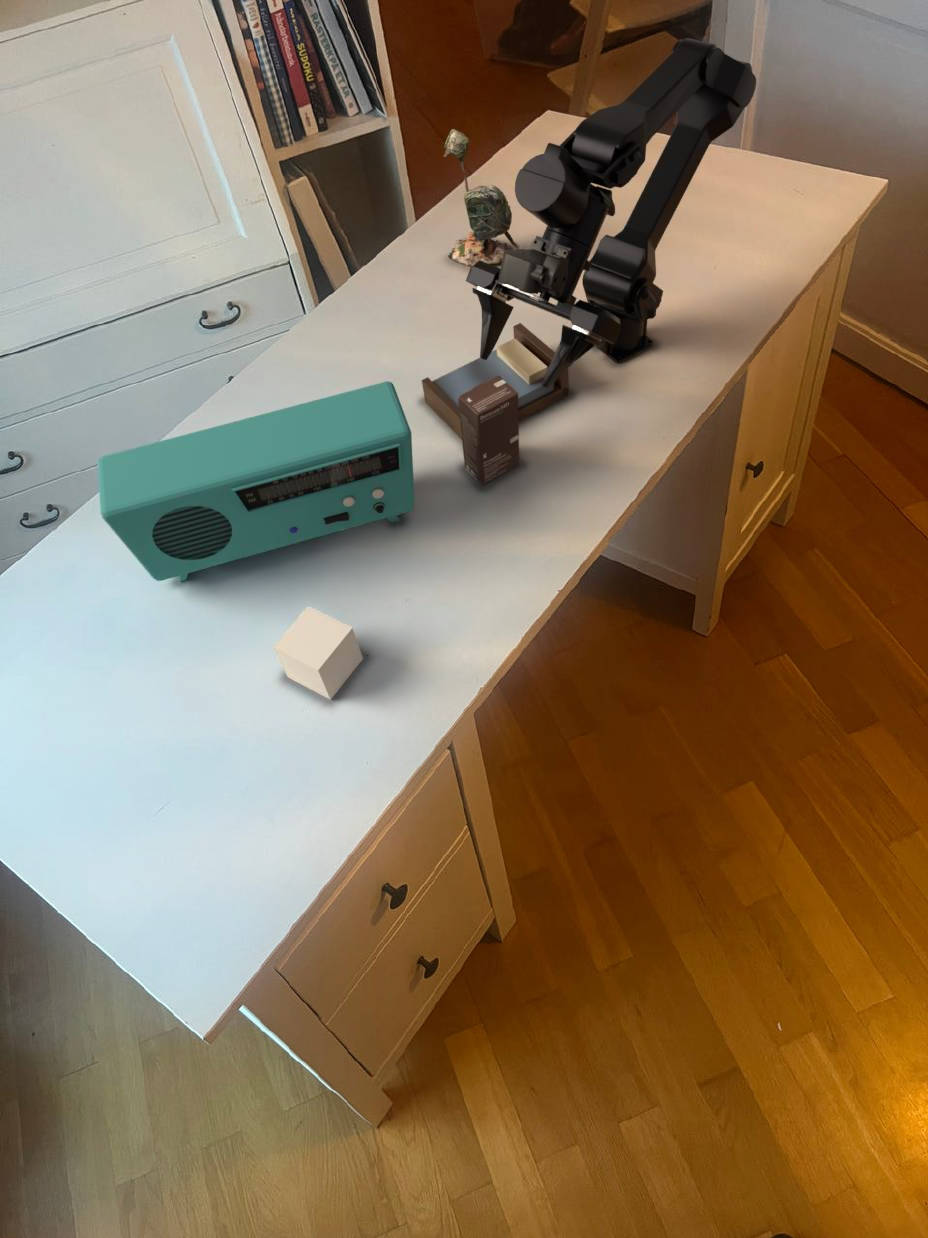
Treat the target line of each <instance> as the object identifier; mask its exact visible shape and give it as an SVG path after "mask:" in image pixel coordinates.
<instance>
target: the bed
mask: <svg viewBox="0 0 928 1238" xmlns="http://www.w3.org/2000/svg"><path fill="white" fill-rule="evenodd" d="M512 328H513V329H512V330H513V339H510V340H509V341H506V342H505V343H503V344H499V345H498V346H496V348H495V349H493V351H492V352H491V354H490V355H489V357H488V358H487V360H484V359H482V358H480V357H478V358H476V359H474V360H472V361H470V362H468V363H465V364H464V365H462V366H460V367H458V368H456V369H453V370H452V371H450V372H448V373H446V374H444V375H441V376H440V377H437V378H435V379H433V380H431V379H430V377H429V376H428V377H425V378H423V379H421V384H422V391H423V396H424V403H425V404H426V405H427V406H428V407H429V408H430V409H431V410H432V411H433V412H434V413H435V414H436V415H437V417H439V418H440V419H441V420H442V421H443V423H445V424H446V425H447V427H449V428H450V429H451V430H452V432H453V433H455V435H456V436H457V437H458V438H459V439H460V440H461V441H462V433H461V424H460V413H459V403H458V396H460V395H462V394H464V393H466V392H468V391H470V390H471V389H473V388H474V387H475V386H477V385H479V384H481V383H484V382H487V381H489V380H491V379H492V378H494V377H496V376H500V377H501V378H502V379H503V380H504V381H505V382H506V383H507V384H509V385H510V386H511V387H512V388H513V389H514V390H515V391H516V392H517V393H518V422H519V421H521V420H523V419H525V418H527V417H529V416H531V415H532V414H535V413H538V412H539V411H540V410H543V409H544V408H546V407H549V406H550V405H552V404H554V403H555V402H558V401H560V400H562V399H563V398H565V397H568V396H569V376H570V375H569V373H570V372H569V371H570V369H569V368H570V367H569V368H568V369H567V370H566V371H565V372H564V373H563V374H562V375H561V376H560V377H559V378H558V379H557V380H556V381H555V382H554V383H552V384H551V385H550V386H549V387H548V388H546V387H544V386H542V383H543V380H544V377H545V374H546V372H547V369H548V367H549V365H550V363H551V361H552V359H553V357H554V354H555V352H556V351H554V350H553V349H552V348H551V347H549V345H548V344H546V343H545V342H543V340H541V339H540V338H539V337H538V336H537V335H535V334H534V333H533V332H532V331H531V330H530V329H528V328H527V327H526V326H524V324H523V323H521V322H519V323H517V324H515V325H514V326H513V327H512Z"/></svg>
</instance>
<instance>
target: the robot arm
mask: <svg viewBox="0 0 928 1238" xmlns="http://www.w3.org/2000/svg"><path fill="white" fill-rule="evenodd" d="M756 87H757V77H756V74H754V73H753V67H752V64H751V63H749V62H747V61H742V60H737V59H735V58H733V57H732V56H730V55H728V54H726V53H725V52H724V51H723V50H722V49H721V48H720V47H718V46H717V45H716V44H715V43H710V42H707V41H702V40H698V39H693V38H689V37H685V38H684V39H679V40H677V41H676V42H675V44H674V45H673V47H672V50H671V52H670V54H669V55H668V56H667V57H666V58H665V59H664V60H663V61H662V62H661V63H660V64H659V65H658V66H657V67H656V69H654V70H653V71H652V73H650V75H648V76H647V77H646V78H645V79H644V80H643V81H642V82H641V83H640V84H639V85H638V86H637V87H636V88H635V89H634V90H633V91H632V92H631V93H630V94H629V95H628V96H627V97H626V98H625V99H624V100H623V101H621V102H620V103H619V104H616V105H612V106H608V107H604V108H600V109H598V110H596V111H594V112H593V113H592V114H591V115H589V116H588V117H586V118H584V119H583V120H582V121H581V122H580V123H578V126H577V127H576V128H575V129H574V131H572V132H571V133H570V135H568V136H567V137H566V138H565V139H564V141H563V142H561V144H555V143H552V142H549V143H547V145H546V147H545V150H544V152H543V153H541V154H537V155H535V156H533V157H532V158H530V159H529V160H528V161H526V163H525V164H524V166H522V168H520V169H519V171H518V172H517V174H516V178H515V182H514V193H515V198H516V200H517V203H518V204H519V205H520V207H522V208H523V209H524V210H525V211H527V212H529V214H531V215H533V216H534V217H535V218H536V219H538V220H539V221H540V222H542V223H543V224H544V225H546V227H545V230H544V232H543V235H542V236H539V235H536V236H535V238H534V239H532V242H531V245H530V247H529V248H528V249H526V248H525V249H524V248H520V249H517V248H516V249H508V251H504V254H503V259H502V262H501V265H500V267H498V266H495V265H494V264H491V263H489V264H488V263H485V262H483V261H480V260H479V261H478V262H477V263H476V264H474V265H473V266H472V267H470V268H469V271H468V273H467V276H466V279H465V282H466V283H469V284H470V285H472V286H474V287H472V294H474V295H475V296H477V298H478V302H479V305H480V308H481V335H480V350H479V358H482V359H484V360H487V358H488V357H489V355H490V354H491V352H492V351H494V350H495V349H494V348H495V347H496V344H497V343H498V340H499V339H500V337H501V335H502V333H503V331H504V328H505V326H506V324H507V322H508V321H509V318H510V316H511V314H512V312H513V310H514V308H515V307H514V306H513V305H511V304H509V303H507V302H509V301H512V300H514V299H515V300H518V301H521V302H524V303H526V304H527V305H531V306H532V307H536V308H538V309H540V310H543V311H545V312H548V313H550V314H552V315H555V316H557V317H560V318H562V319H565V320H568V321H569V322H571V325H572V326H571V327H570V326H567V325H565V324H562V325H561V326H562V327H561V335H560V342H559V344H558V346H557V348H556V350H555V351H554V352H555V354H554V357H553V359H552V361H551V363H550V365H549V367H548V369H547V372H546V374H545V377H544V380H543V383H542V386H544V387H546V388H548V387H549V386H550V385H551V384H552V383H554V382H555V381H556V380H557V379H558V378H559V377H560V376H561V375H562V374H563V373H564V372H565V371H566V370H567V369H568V368H570V367H571V366H572V365H573V364H575V363H576V362H577V361H578V360H580V358H582V357H583V356H585V354H586V353H588V352H589V351H590V350H592V349H593V348H597V349H598V350H599V351H601V352H602V353H603V354H604V355H606V356H607V357H608V358H609V359H611V360H612V361H613V362H614V363H615V364H620V363H622V362H624V361H626V360H628V359H630V358H631V357H633V356H635V355H638V354H639V353H641V352H643V351H645V350H647V349H649V348H651V347H652V346H653V345H654V340H653V339H652V338H651V337H649V336H648V335H647V330H648V321H649V320H653V319H654V318H656V317H657V309H659V308H660V305H661V303H662V298H663V293H664V290H663V289H662V288H661V287H659V286H658V285H656V284H655V283H654V281H655V279H656V276H657V264H656V250H657V248H658V246H659V244H660V242H661V240H662V238H663V236H664V234H665V232H666V230H667V228H668V227H669V225H670V223H671V221H672V219H673V216H674V215H675V212H676V211H677V209H678V207H679V205H680V202H681V201H682V199H683V197H684V196H685V194H686V191H687V189H688V188H689V185H690V183H691V181H692V179H693V178H694V176H695V174H696V172H697V170H698V168H699V166H700V164H701V162H702V160H703V158H704V156H705V154H706V152H707V150H708V149H709V147H710V145H711V143H712V142H713V141H714V140H716V139H717V138H719V137H720V136H722V135H723V134H725V133H726V132H727V131H730V129H732V128H733V127H734V126H735V124H736V123H737V121H738V120H739V118H740V116H741V114H742V113H743V111H744V110H745V108H747V107H748V106H749V105H750V103H751V102H752V99H753V97H754V95H755V91H756ZM676 113H677V117H678V119H677V122H676V124H675V126H674V128H673V130H672V132H671V133H670V136H669V138H668V140H667V142H666V143H665V147H663V150H662V152H661V154H660V156H659V157H658V160H657V162H656V164H655V166H654V168H653V170H652V172H651V174H650V176H649V178H648V180H647V181H646V183H645V186H644V188H643V189H642V192H641V194H640V195H639V197H638V200H637V201H636V204H635V205H634V207H633V209H632V211H631V213H630V215H629V217H628V219H627V221H626V223H625V225H624V227H623V229H622V230H621V231H620V232H618V233H617V234H615V235H614V236H612V235H610V234H605V235H604V236H603V237H602V238H601V239H600V241H599V243H598V245H597V248H596V250H595V252H594V253H593V256H592V257H591V259H590V260H589V258H590V255H591V252H592V250H593V248H594V245H595V243H596V241H597V238H598V236H599V234H600V231H601V229H602V227H603V224H604V222H605V219H606V218H607V216H608V217H609V216H610V217H614V216H615V215H616V204H615V203H614V200H613V190H611V189H613V188H619V189H621V188H624V187H625V186H626V185H627V184H629V183H630V181H632V179H633V178H634V177H635V176H636V175H637V174H638V172H639V169H640V168H641V167H642V166H643V164H644V163H645V161H646V155H647V145H648V143H649V142H650V141H651V139H652V138H653V137H654V136H655V135H656V134H657V133H658V132H659V131H660V130H661V129H662V128H663V127H664V126H665V125H666V123H667V122H668V121H669V120H671V118H672V117H673V116H674V115H675V114H676ZM582 274H583V275H582ZM581 276H582V288H583V291H584V294H585V295H584V296H585V299H586V301H585V300H582V299H579V300H577V299H578V298H577V297H576V296H575V295H574V293H575V290H576V288H577V286H578V283H579V281H580V279H581ZM475 287H476V288H475ZM538 294H539V296H538ZM550 299H552V300H555V301H557V303H556V304H553V303H552V302H549V301H550Z"/></svg>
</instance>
